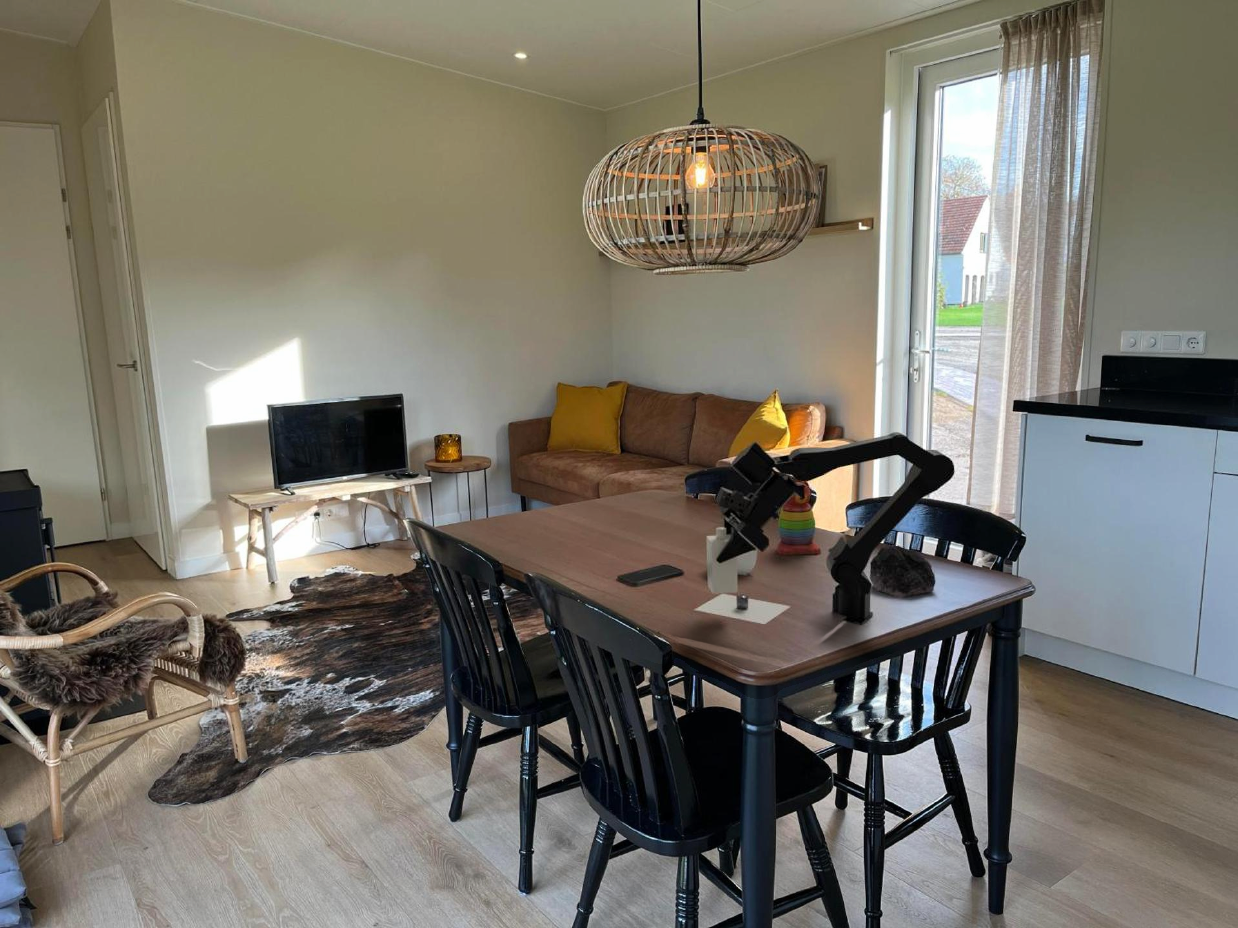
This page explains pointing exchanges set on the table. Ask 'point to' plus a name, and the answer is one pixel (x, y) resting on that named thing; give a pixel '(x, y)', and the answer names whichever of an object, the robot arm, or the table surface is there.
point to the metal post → (742, 602)
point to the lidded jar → (746, 562)
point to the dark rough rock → (901, 572)
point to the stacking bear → (797, 526)
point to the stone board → (754, 613)
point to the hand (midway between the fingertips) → (715, 557)
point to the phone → (650, 575)
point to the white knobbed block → (720, 565)
